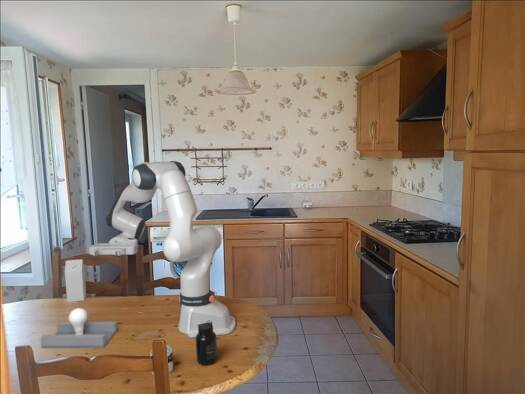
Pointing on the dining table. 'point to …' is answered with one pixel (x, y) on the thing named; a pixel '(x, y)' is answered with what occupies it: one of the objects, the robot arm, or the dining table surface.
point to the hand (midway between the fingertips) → (106, 254)
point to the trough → (91, 338)
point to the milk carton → (75, 280)
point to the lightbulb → (78, 320)
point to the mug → (170, 358)
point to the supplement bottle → (206, 344)
